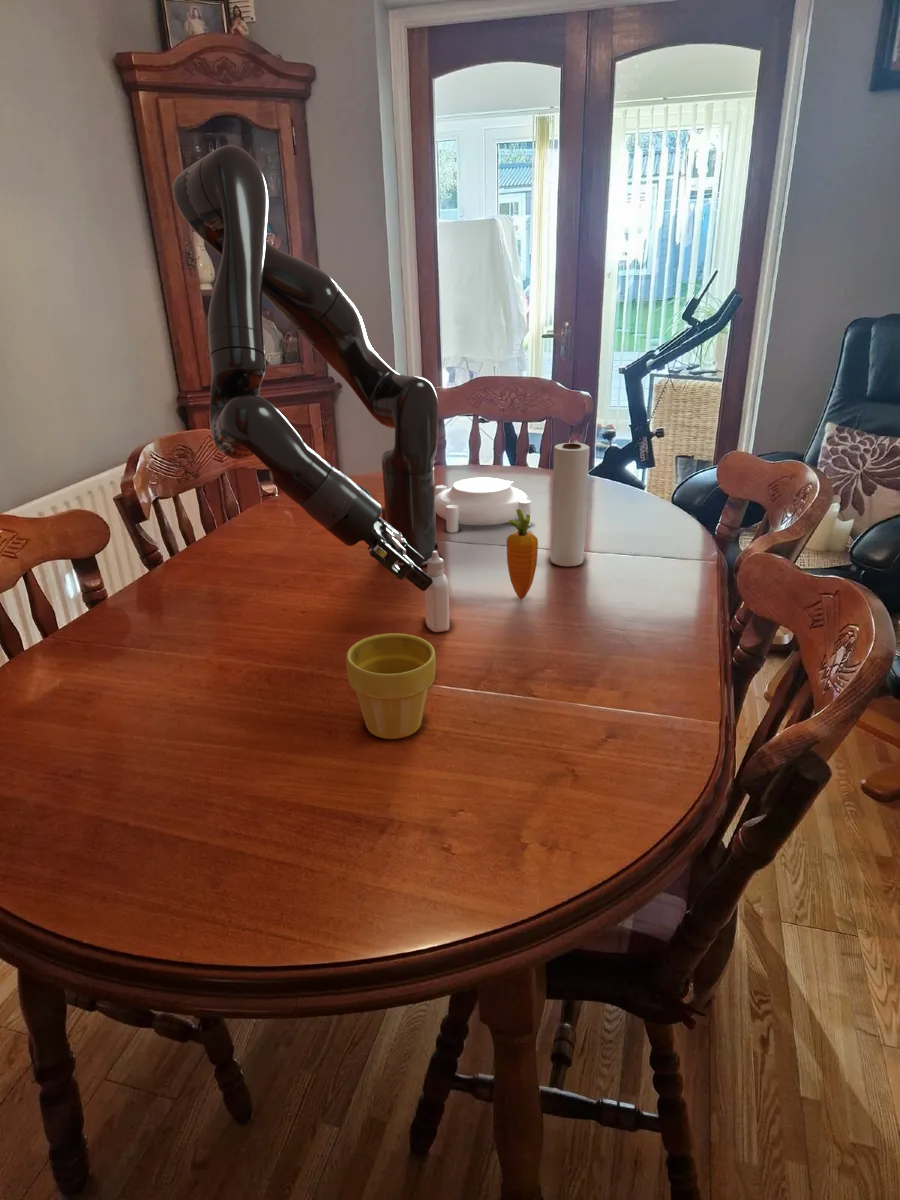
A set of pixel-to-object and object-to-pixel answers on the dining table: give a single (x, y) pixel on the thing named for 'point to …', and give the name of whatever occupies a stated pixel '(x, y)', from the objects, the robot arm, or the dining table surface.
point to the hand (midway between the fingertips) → (424, 574)
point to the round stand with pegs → (480, 502)
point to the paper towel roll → (569, 503)
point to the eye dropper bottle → (437, 596)
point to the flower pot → (391, 681)
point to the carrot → (521, 555)
